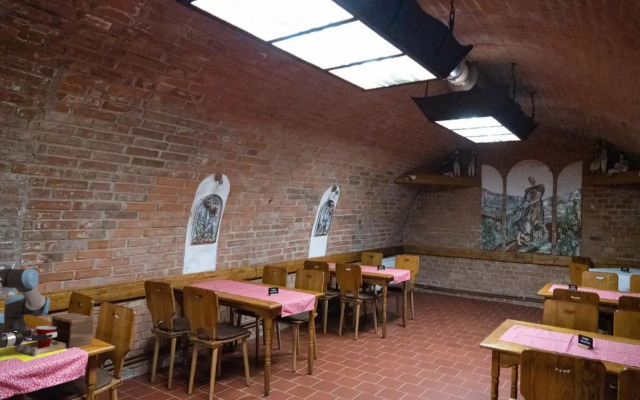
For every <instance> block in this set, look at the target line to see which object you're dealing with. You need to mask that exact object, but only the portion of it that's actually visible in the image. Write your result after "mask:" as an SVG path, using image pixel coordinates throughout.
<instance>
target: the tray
mask: <svg viewBox="0 0 640 400" xmlns="http://www.w3.org/2000/svg"><path fill="white" fill-rule="evenodd" d="M13 347H14V349H13V350H14V351H16V352H19V353H22V354H26V355H28V356H32V357H37V356H38V355H42V354H47V353H52V352H56V351H62V350H66V348H67V343H65V342H63V341H61V342H58V341H55V340H52V341H51V343H50V346H49V347H45V348H38V341H31V342H28V343H23V344H22V343H21V344H20V345H15V346H13Z"/></svg>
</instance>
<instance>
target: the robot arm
mask: <svg viewBox="0 0 640 400" xmlns="http://www.w3.org/2000/svg"><path fill="white" fill-rule="evenodd" d="M39 277H40V276H39V273H38V271H37V270H36V269H33V268H32V269H31V268H8V267H6V268H3V269H0V291H1V290H2V289H6V288H7V289H15V290H16V291H17V292H19V293H21V294H18V295H17V294H16V295H12V296H8V297H6V298H5V302H4V310H3V312H1V311H0V349H3V348H4V349H7V348H9V347H15V345H20V344H22V343H23V342H28V343H31V342H37V341H39V340H45V341H46V340H47V339H48V338H53V337H57V332H53V333H48V334H45V335H37V330H36V328H35V329H31V328H29V329H27V326H26V325H27V324H26V321H25V316H46V315H47V314H48V313H49V309H50V305H51V298H50V297H45V296H44V295H43V294H41V293H40V291H39V289H38V287H37V286H38V284H39V279H40V278H39ZM14 331H17V332H14Z"/></svg>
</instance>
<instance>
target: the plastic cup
mask: <svg viewBox="0 0 640 400" xmlns="http://www.w3.org/2000/svg"><path fill="white" fill-rule="evenodd" d="M35 329H36V330H37V334H36V335H45V334H48V333H53V332H54V331H55V329H56V327H53V326H51V325H41V326H36V327H35ZM51 341H52V338H48V339H47V340H46V341H45V340H39V341H38V348H45V347H49V346H50V343H51Z"/></svg>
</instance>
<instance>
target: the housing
mask: <svg viewBox="0 0 640 400" xmlns="http://www.w3.org/2000/svg"><path fill="white" fill-rule="evenodd" d="M50 326H53V327H56V329H55V331H54V332H57V337H53V338H52V340H55V341H58V342H60V341H61V342H64V341H68V345H67V349H69V348H71V349H74V348H73V347H75V348H79V347H84V346H89V345H92V341H93V339H92V338H93V329H94V327H93V326H94V316H91V315H85V314H81V313H76V312H70V313H63V314H56V315H52V316H51V324H50Z"/></svg>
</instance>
